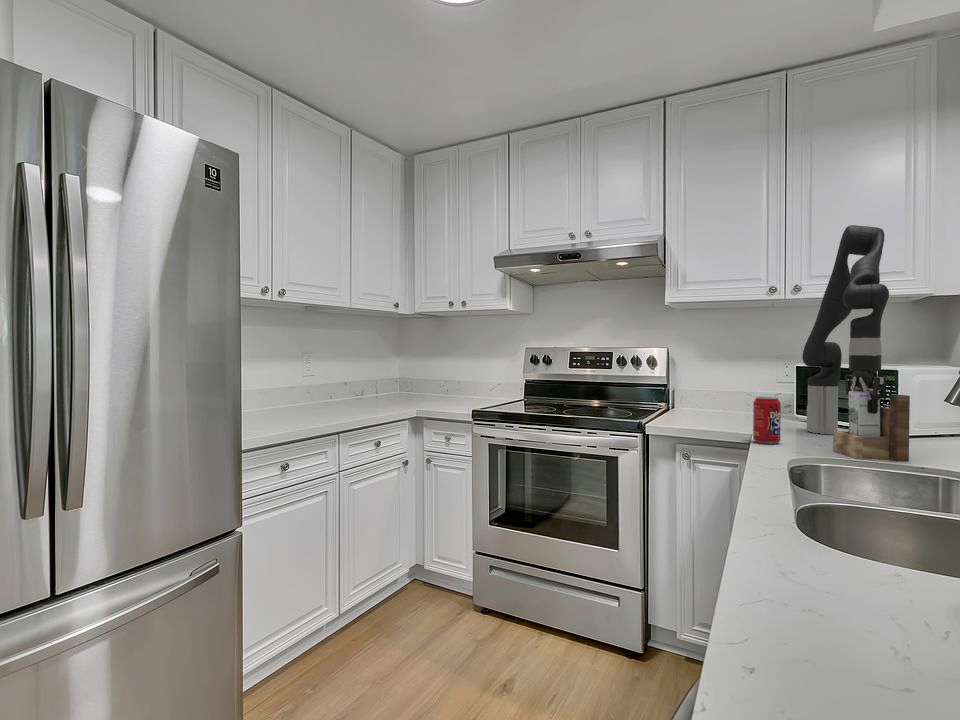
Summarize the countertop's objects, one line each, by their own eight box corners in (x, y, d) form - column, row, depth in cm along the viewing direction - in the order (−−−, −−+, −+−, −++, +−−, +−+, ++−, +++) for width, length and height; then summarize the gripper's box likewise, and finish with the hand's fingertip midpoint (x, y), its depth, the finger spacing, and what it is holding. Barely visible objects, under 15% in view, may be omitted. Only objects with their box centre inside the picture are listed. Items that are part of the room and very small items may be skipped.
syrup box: (881, 443, 144) (881, 392, 144) (857, 442, 146) (858, 392, 145) (869, 439, 150) (870, 390, 150) (847, 439, 151) (847, 390, 151)
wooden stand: (826, 449, 157) (826, 390, 156) (865, 449, 156) (866, 390, 156) (865, 461, 140) (865, 395, 139) (908, 461, 139) (909, 395, 139)
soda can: (749, 440, 172) (750, 395, 172) (775, 440, 171) (775, 396, 171) (757, 444, 165) (757, 398, 164) (784, 445, 163) (784, 398, 163)
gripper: (835, 353, 155) (834, 408, 155) (869, 354, 140) (868, 415, 141) (861, 353, 154) (860, 409, 155) (897, 354, 140) (896, 415, 140)
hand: (864, 411), depth 148 cm, fingers closed on syrup box, 6 cm apart
